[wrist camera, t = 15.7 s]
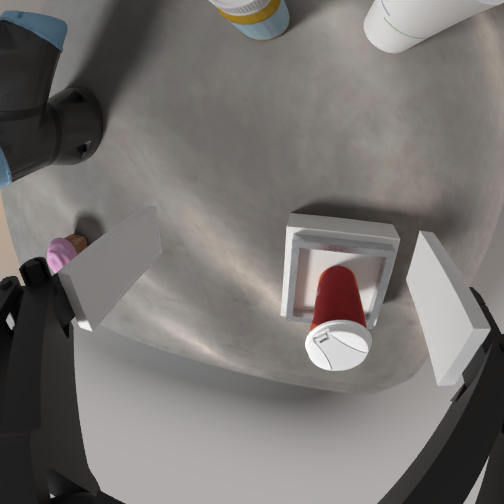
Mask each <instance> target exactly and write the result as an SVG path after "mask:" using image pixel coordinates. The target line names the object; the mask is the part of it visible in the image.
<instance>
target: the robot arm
mask: <svg viewBox="0 0 504 504" xmlns="http://www.w3.org/2000/svg"><path fill="white" fill-rule="evenodd" d="M67 30H68V28H67V24H66V23H65V22H64V21H63V20H61V19H58V18H55V17H51V16H47V15H43V14H37V13H31V12H21V11H5V12H3V13H2V15H1V16H0V188H1V187H3V186H7V185H10V184H11V183H12V182H14V181H16V180H18V179H20V178H22V177H24V176H26V175H28V174H30V173H33V172H35V171H37V170H39V169H42V168H44V167H46V166H48V165H74V164H78V163H80V162H83V161H85V160H87V159H88V158H90V157H91V156H92V155H93V153H94V152H95V150H96V149H97V147H98V145H99V142H100V139H101V134H102V125H103V122H102V113H101V109H100V106H99V103H98V101H97V99H96V98H95V96H94V95H93V94H92V93H91V92H90V91H89V90H87V89H85V88H82V87H74V88H68V89H64V90H62V91H60V92H59V93H57V94H55V95H53V96H52V97H50V98H48V97H49V93H50V89H51V85H52V81H53V77H54V74H55V70H56V67H57V64H58V60H59V57H60V54H61V53H62V51H63V48H62V47H63V43H64V40H65V37H66V34H67ZM162 252H163V251H162V246H161V239H160V233H159V227H158V220H157V213H156V206H142V207H141V208H139V209H138V210H136V211H135V212H134V213H132V214H131V215H129V216H128V217H127V218H125V219H124V220H122V221H121V222H120V223H118V224H117V225H116V226H114V227H113V228H112V229H110V230H109V231H108V232H106V233H105V234H104V235H102V236H101V237H100V238H98V239H97V240H96V241H95V242H93V243H92V244H91V245H89V246H88V247H87V248H86V249H84V250H83V251H82V252H81V253H79V254H78V255H77V256H76V257H75V258H73V259H72V260H71V261H70V262H68V263H67V264H66V265H65V266H64V267H63V268H61V269H60V270H59V271H58V272H57V273H56V274H54V275H53V276H51V273H50V270H49V268H48V265H47V262H46V259H45V258H44V257H36V258H33V259H30V260H28V261H27V262H25V263H24V264H23V265H22V266H21V267H20V268H19V270H20V273H21V276H22V278H23V280H24V283H25V285H26V286H21V285H20V282H19V280H18V278H17V277H16V276H10V277H6V278H4V279H3V280H2V281H1V282H0V504H125V503H123V502H121V501H119V500H117V499H115V498H113V497H111V496H109V495H107V494H105V493H103V492H102V491H101V490H100V487H99V485H98V483H97V481H96V479H95V477H94V476H93V474H92V473H91V471H90V469H89V467H88V464H87V459H86V455H85V450H84V445H83V439H82V433H81V426H80V420H79V412H78V404H77V394H76V383H75V368H74V344H73V343H74V337H73V329H74V328H73V325H72V323H71V320H72V319H73V318H74V317H76V319H77V321H78V323H79V326H80V327H81V328H84V329H87V330H90V331H92V332H93V331H94V329H95V328H96V327H97V326H98V325H99V323H100V322H101V321H102V320H103V319H104V317H105V316H106V315H107V314H108V313H109V312H110V310H111V309H112V308H113V307H114V306H115V305H116V303H117V302H118V301H119V300H120V299H121V298H122V297H123V295H124V294H125V293H126V292H127V291H128V290H129V289H130V287H131V286H132V285H133V284H134V283H135V282H136V281H137V280H138V279H139V277H140V276H141V275H142V274H143V273H144V272H145V271H146V270H147V269H148V268H149V266H150V265H151V264H152V263H153V262H154V261H155V260H156V259H157V258H158V257H159V256H160V255H161V254H162ZM406 281H407V284H408V287H409V289H410V292H411V295H412V298H413V301H414V304H415V307H416V310H417V313H418V316H419V319H420V322H421V325H422V329H423V332H424V336H425V339H426V343H427V346H428V350H429V353H430V357H431V361H432V365H433V369H434V373H435V378H436V382H437V385H438V386H444V385H454V384H455V383H456V382H457V380H458V379H459V378H460V376H461V375H463V378H464V382H465V383H464V384H463V385H462V387H461V388H460V389H459V390H458V392H457V393H456V394H455V395H454V397H453V398H452V399H451V401H452V404H451V406H450V407H449V409H448V411H447V413H446V414H445V416H444V418H443V419H442V421H441V422H440V424H439V426H438V427H437V429H436V431H435V432H434V433H433V435H432V436H431V438H430V439H429V441H428V442H427V444H426V445H425V447H424V448H423V449H422V451H421V452H420V454H419V455H418V456H417V458H416V459H415V460H414V462H413V463H412V464H411V465H410V467H409V468H408V469H407V470H406V472H405V473H404V474H403V476H402V477H401V478H400V479H399V480H398V482H397V483H396V484H395V485H394V486H393V487H392V488H391V489H390V491H389V492H388V493H387V494H386V495H385V496H384V497H383V498H382V499H381V500H380V501H379V502H378V504H463V503H464V501H465V500H466V498H467V496H468V495H469V493H470V491H471V489H472V488H473V486H474V484H475V482H476V480H477V478H478V477H479V475H480V473H481V471H482V469H483V467H484V465H485V463H486V461H487V458H488V457H489V460H488V464H487V468H486V471H485V475H484V478H483V482H482V485H481V488H480V491H479V494H478V497H477V500H476V503H475V504H504V334H501V332H500V330H499V328H498V326H497V324H496V323H495V320H494V319H493V317H492V315H491V313H490V312H489V309H488V307H487V306H486V305H485V302H484V300H483V299H482V297H481V295H480V294H479V293H478V292H477V291H476V290H474V288H473V287H468V285H467V283H466V282H465V280H464V278H463V277H462V275H461V273H460V272H459V270H458V269H457V267H456V265H455V264H454V262H453V261H452V259H451V258H450V256H449V255H448V253H447V252H446V250H445V249H444V247H443V246H442V244H441V243H440V241H439V240H438V238H437V237H436V236H435V234H434V233H433V232H426V231H419V235H418V239H417V243H416V247H415V251H414V254H413V258H412V261H411V265H410V268H409V271H408V275H407V278H406ZM7 316H8V317H9V318H10V320H11V322H12V324H13V329H12V330H11V329H10V328H9V326H8V324H7V322H6V319H7ZM489 454H490V455H489ZM50 494H52V495H54V496H55V497H54V498H50Z"/></svg>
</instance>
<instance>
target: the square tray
mask: <svg viewBox="0 0 504 504" xmlns="http://www.w3.org/2000/svg"><path fill="white" fill-rule="evenodd" d="M399 243H400V237H399V235H398V233H397V231H396V229H395V227H394V225H393V224H386V223H379V222H371V221H362V220H354V219H345V218H336V217H327V216H317V215H308V214H297V213H290V216H289V220H288V223H287V230H286V248H285V264H284V279H283V293H282V307H281V316H286V320H288V321H296V322H304V323H312V318H313V312H314V306H315V300H316V294H317V288H318V282H319V278H320V276H321V274H322V273H323V272H324V271H325V270H326V269H327V268H329V267H332V266H344V267H346V268H348V269H350V270H351V271H352V272H353V274H354V275H355V278H356V281H357V285H358V289H359V293H360V298H361V302H362V307H363V311H364V316H365V321H366V326H367V329H372V328H373V325H375V324H376V322H377V319H378V316H379V313H380V310H381V307H382V304H383V300H384V297H385V294H386V291H387V288H388V284H389V281H390V277H391V274H392V270H393V267H394V263H395V259H396V255H397V251H398V247H399Z"/></svg>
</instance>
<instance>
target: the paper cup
mask: <svg viewBox="0 0 504 504" xmlns="http://www.w3.org/2000/svg"><path fill="white" fill-rule="evenodd" d="M371 344H372V338H371V335H370V333H369V331H368V330H367V326H366V321H365V316H364V311H363V307H362V302H361V298H360V293H359V289H358V285H357V281H356V278H355V275H354V274H353V272H352V271H351V270H350V269H348V268H346V267H344V266H332V267H329V268H327V269H326V270H325V271H324V272H323V273H322V274H321V276H320V278H319V282H318V288H317V294H316V300H315V306H314V312H313V318H312V324H311V329H310V333H309V334H308V336H307V338H306V342H305V346H306V350H307V352H308V354H309V357H310V359H311V360H312V362H313V363H314V364H315V365H317V366H318V367H320V368H323V369H325V370H330V371H331V370H332V371H341V370H347V369H350V368H353V367H355V366H357V365H358V364H360V363H361V362H362V361H363V360H364V359H365V357H366V355H367V354H368V352H369V350H370V348H371Z"/></svg>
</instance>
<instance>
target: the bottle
mask: <svg viewBox="0 0 504 504" xmlns="http://www.w3.org/2000/svg"><path fill="white" fill-rule="evenodd" d="M209 1H210V2H211V3H212V4H214V5H215V6H216V7H217V10H218V11H219V12H220V14H221V15H222V16H223V17H224V18H225V19H227V20H228V21H229V22H230V23H232V24H233V25H234V26H235V27H237V28H238V29H239V30H240V31H242V32H243V33H244V34H245V35H247V36H248V37H250V38H252V39H255V40H260V41H267V40H272V39H275V38H277V37H279V36H281V35H282V34H283V33H284V32H285V31H286V30H287V28H288V26H289V23H290V15H289V12H288V9H287V6H286V4H285V1H284V0H209Z"/></svg>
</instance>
